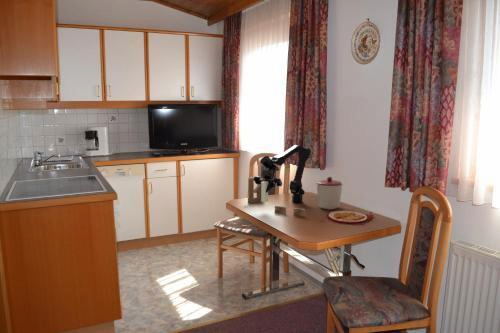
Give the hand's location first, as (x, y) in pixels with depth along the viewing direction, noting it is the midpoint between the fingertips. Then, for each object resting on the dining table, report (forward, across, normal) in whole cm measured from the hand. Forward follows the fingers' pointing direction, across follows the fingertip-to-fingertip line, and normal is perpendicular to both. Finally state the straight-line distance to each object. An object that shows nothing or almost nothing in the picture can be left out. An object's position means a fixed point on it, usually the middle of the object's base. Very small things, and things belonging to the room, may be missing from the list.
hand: (263, 191), depth 260 cm
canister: (-12, +34, +30) cm, 47 cm away
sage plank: (+4, 0, +6) cm, 7 cm away
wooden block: (-6, -17, +24) cm, 30 cm away
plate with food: (+4, +52, +16) cm, 55 cm away
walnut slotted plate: (+8, +17, +11) cm, 22 cm away
